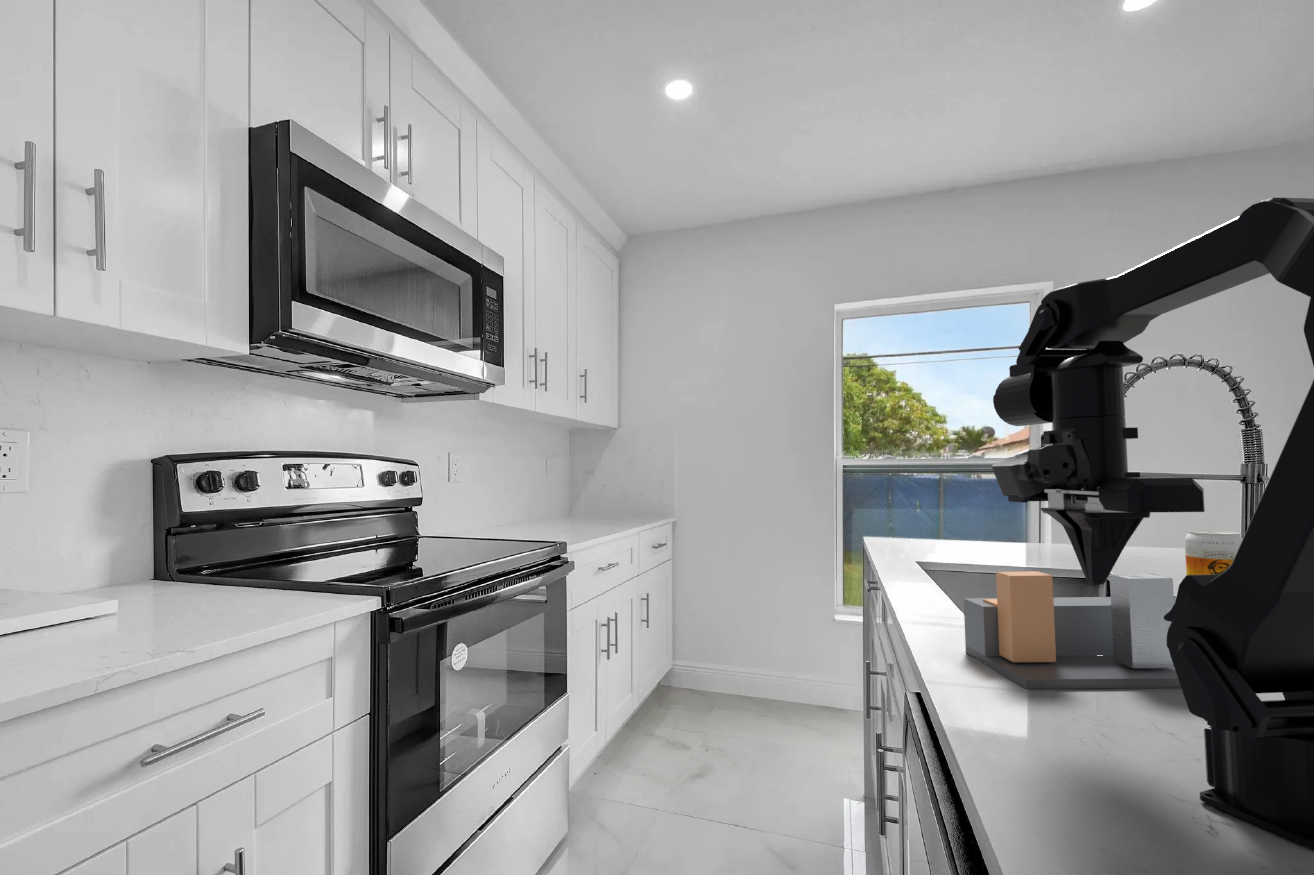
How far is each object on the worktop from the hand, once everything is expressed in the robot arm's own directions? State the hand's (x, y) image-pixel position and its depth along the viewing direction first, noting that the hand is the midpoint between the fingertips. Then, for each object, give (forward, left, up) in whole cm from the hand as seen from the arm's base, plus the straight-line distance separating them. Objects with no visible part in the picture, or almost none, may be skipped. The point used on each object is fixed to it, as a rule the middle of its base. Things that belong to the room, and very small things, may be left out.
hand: (1095, 583), depth 59 cm
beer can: (+13, -41, -13) cm, 45 cm away
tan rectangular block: (+14, -8, -12) cm, 20 cm away
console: (+12, -14, -13) cm, 23 cm away
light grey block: (+8, -18, -12) cm, 23 cm away
